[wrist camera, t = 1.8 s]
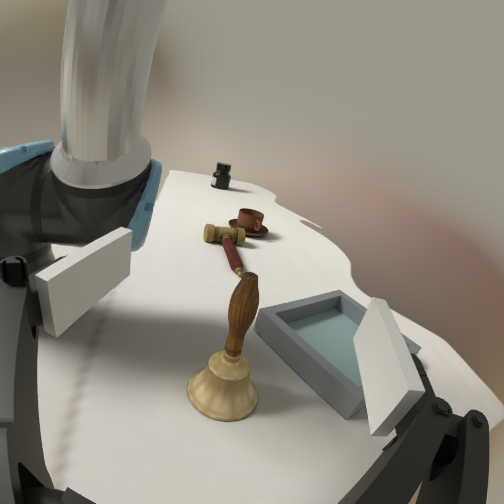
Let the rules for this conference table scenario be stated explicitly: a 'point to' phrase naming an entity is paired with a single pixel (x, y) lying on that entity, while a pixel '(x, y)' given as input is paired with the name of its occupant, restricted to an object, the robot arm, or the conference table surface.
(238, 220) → the cup and saucer
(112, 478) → the conference table surface
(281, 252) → the conference table surface
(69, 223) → the robot arm
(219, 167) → the ink bottle
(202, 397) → the hand bell
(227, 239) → the gavel
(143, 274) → the conference table surface
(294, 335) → the box
